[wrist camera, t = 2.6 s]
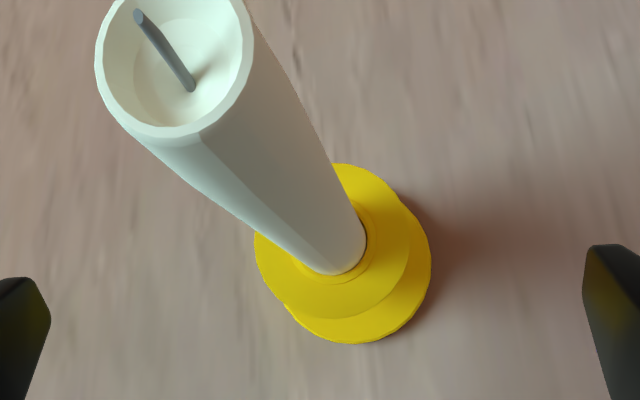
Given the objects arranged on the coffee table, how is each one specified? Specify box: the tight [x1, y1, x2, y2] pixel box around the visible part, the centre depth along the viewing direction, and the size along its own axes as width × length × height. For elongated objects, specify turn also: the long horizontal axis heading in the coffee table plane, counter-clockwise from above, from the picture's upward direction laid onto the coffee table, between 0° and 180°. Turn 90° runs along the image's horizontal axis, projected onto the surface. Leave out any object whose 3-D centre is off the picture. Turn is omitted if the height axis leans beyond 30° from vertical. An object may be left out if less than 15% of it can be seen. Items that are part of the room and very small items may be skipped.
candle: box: [94, 0, 431, 344], centre depth 11 cm, size 5×5×16 cm
